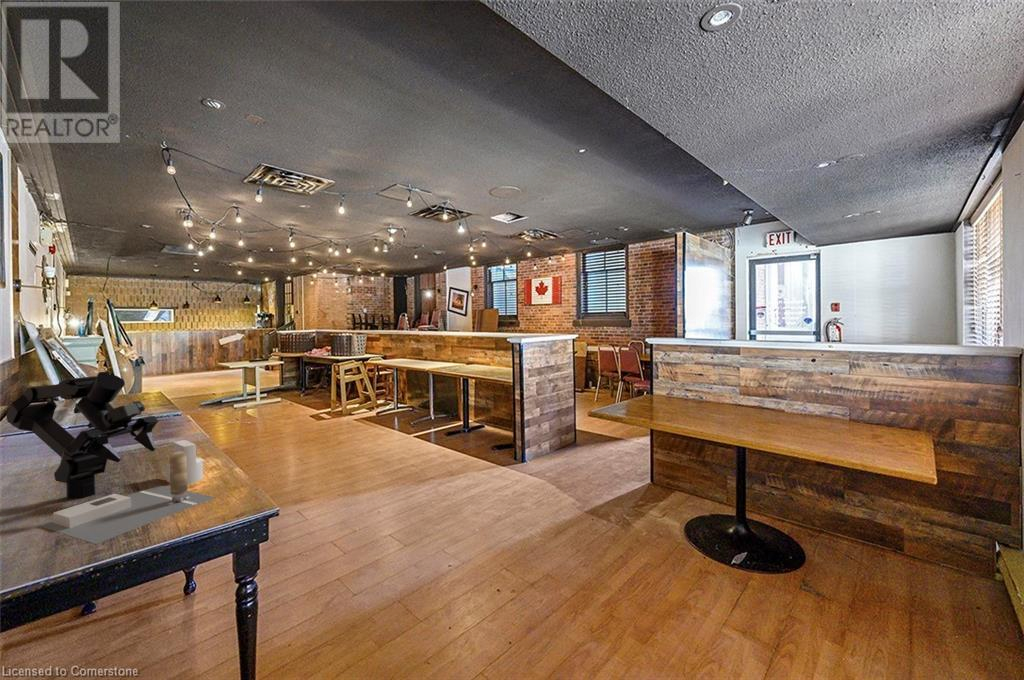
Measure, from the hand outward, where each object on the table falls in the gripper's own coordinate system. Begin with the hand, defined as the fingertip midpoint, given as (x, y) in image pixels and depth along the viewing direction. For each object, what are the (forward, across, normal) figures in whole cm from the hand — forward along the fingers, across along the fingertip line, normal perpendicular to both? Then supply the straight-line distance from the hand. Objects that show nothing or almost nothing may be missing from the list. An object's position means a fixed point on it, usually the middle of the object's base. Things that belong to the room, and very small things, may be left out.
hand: (137, 455), depth 113 cm
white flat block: (+7, -9, +10) cm, 16 cm away
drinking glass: (+8, +17, +12) cm, 22 cm away
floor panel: (+13, -6, +6) cm, 15 cm away
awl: (+17, +1, +1) cm, 17 cm away
